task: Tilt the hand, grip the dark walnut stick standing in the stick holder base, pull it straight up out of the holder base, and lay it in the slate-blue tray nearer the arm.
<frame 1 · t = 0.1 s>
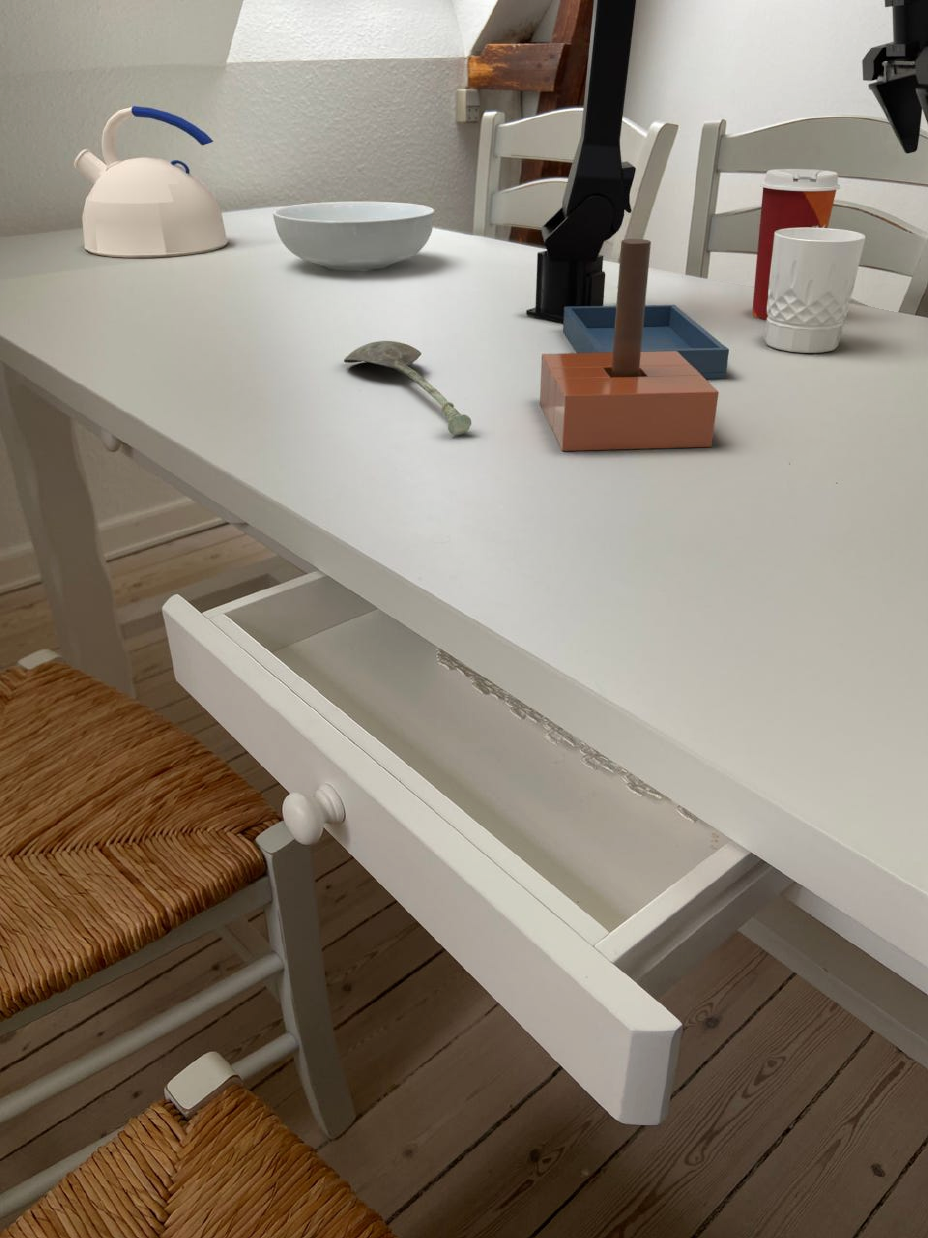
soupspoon: (410, 396, 79), on the table
serving bowl: (357, 266, 128), on the table
tray: (637, 353, 90), on the table
kettle: (157, 247, 141), on the table
paper cup: (778, 317, 103), on the table
stick holder base: (620, 424, 73), on the table
walnut stick: (628, 336, 69), in the stick holder base
white cup: (800, 346, 93), on the table
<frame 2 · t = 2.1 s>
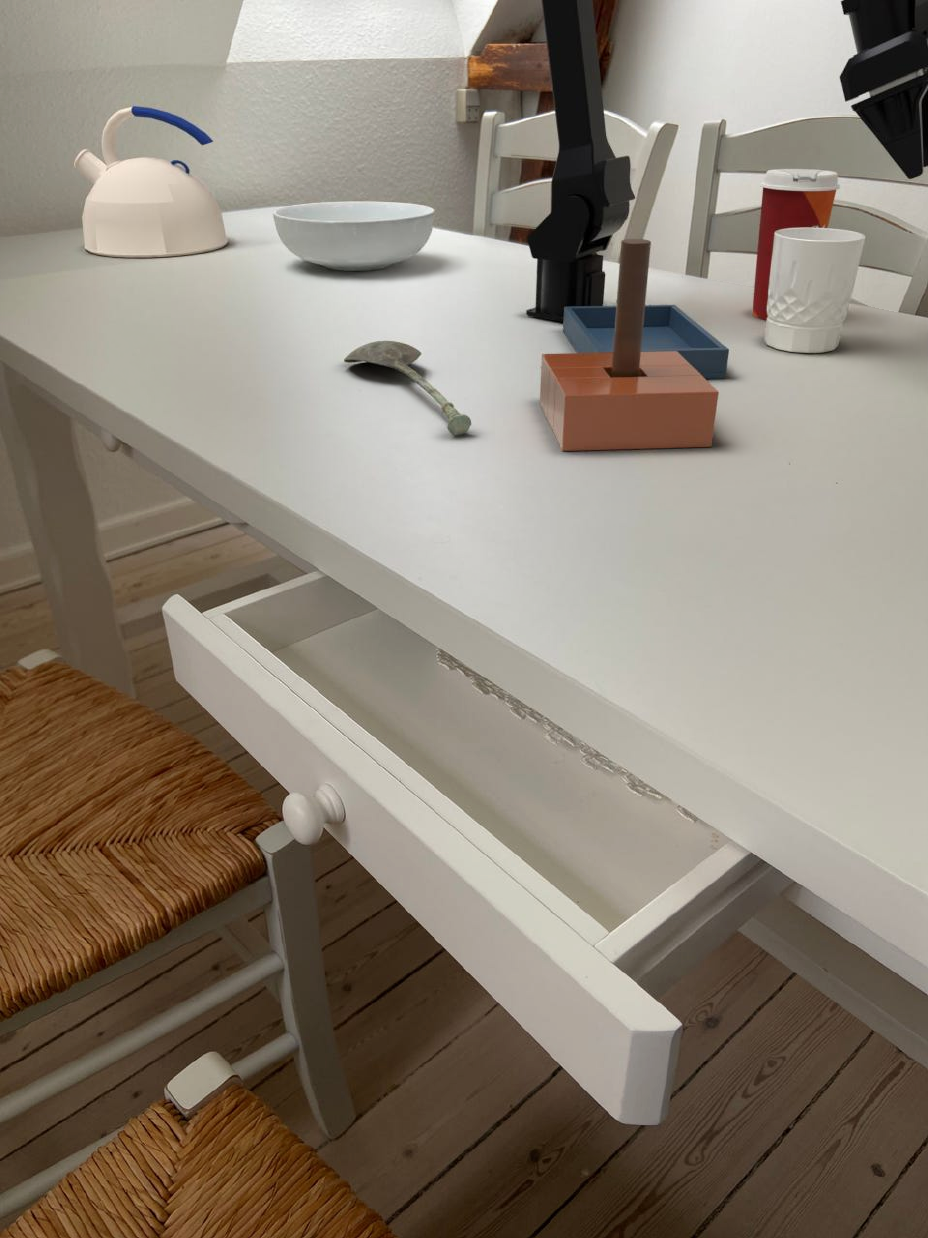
hand: (923, 170, 82), 16 cm above the table, tool tilted 25°, fingers open, 9 cm apart
nothing on the table moved.
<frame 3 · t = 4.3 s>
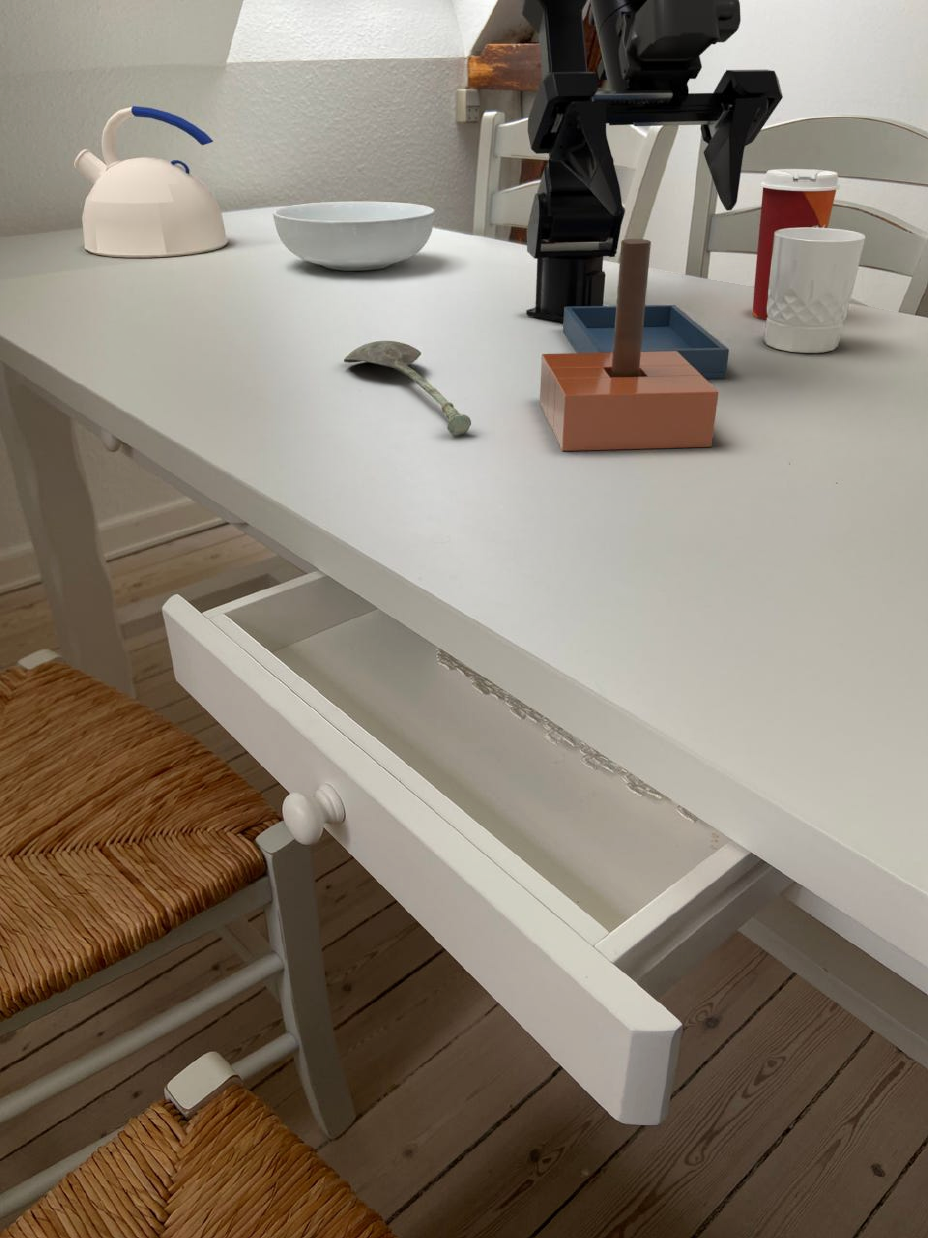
hand: (675, 209, 72), 14 cm above the table, tool tilted 40°, fingers open, 9 cm apart
nothing on the table moved.
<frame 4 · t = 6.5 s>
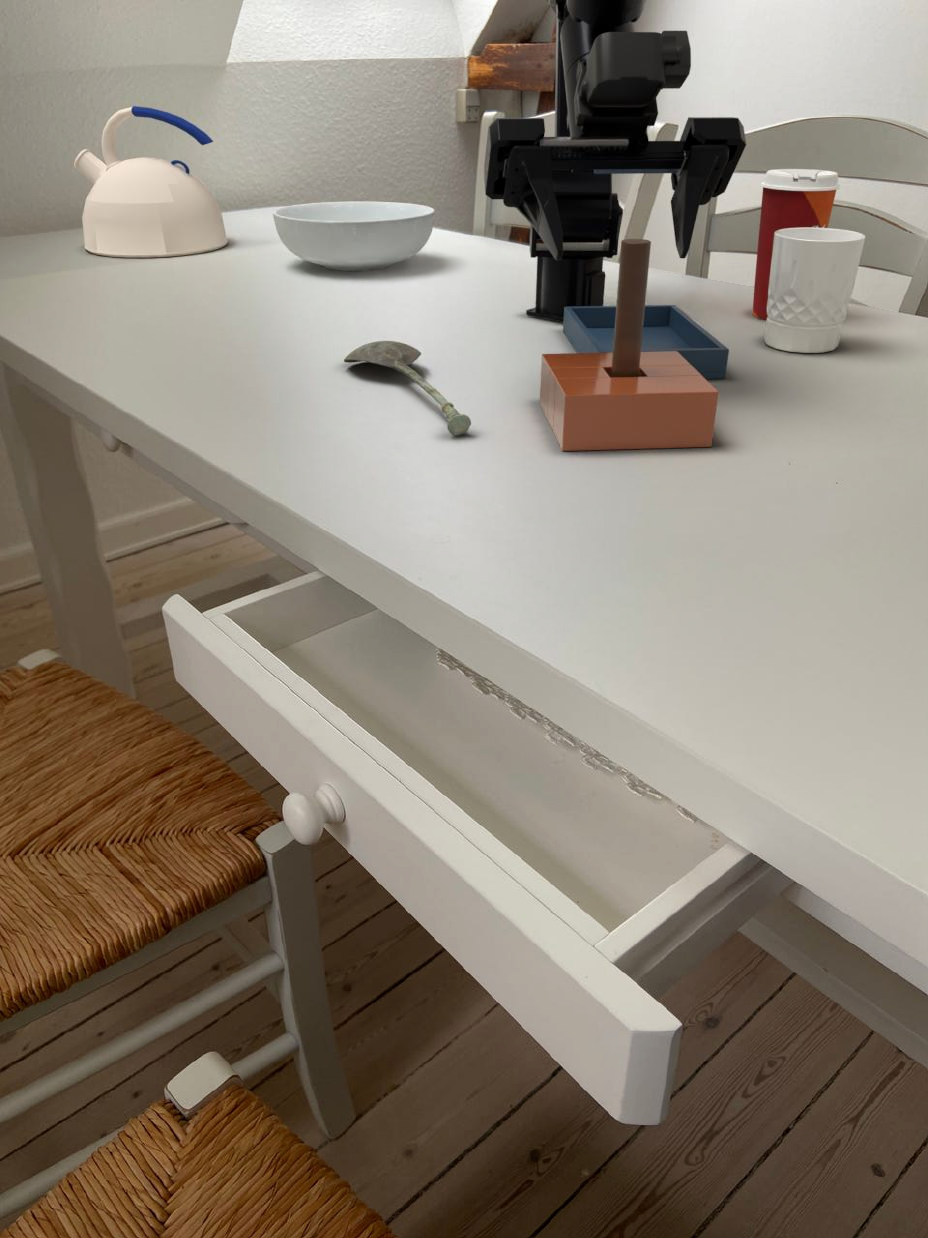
hand: (622, 255, 70), 11 cm above the table, tool tilted 45°, fingers open, 9 cm apart
nothing on the table moved.
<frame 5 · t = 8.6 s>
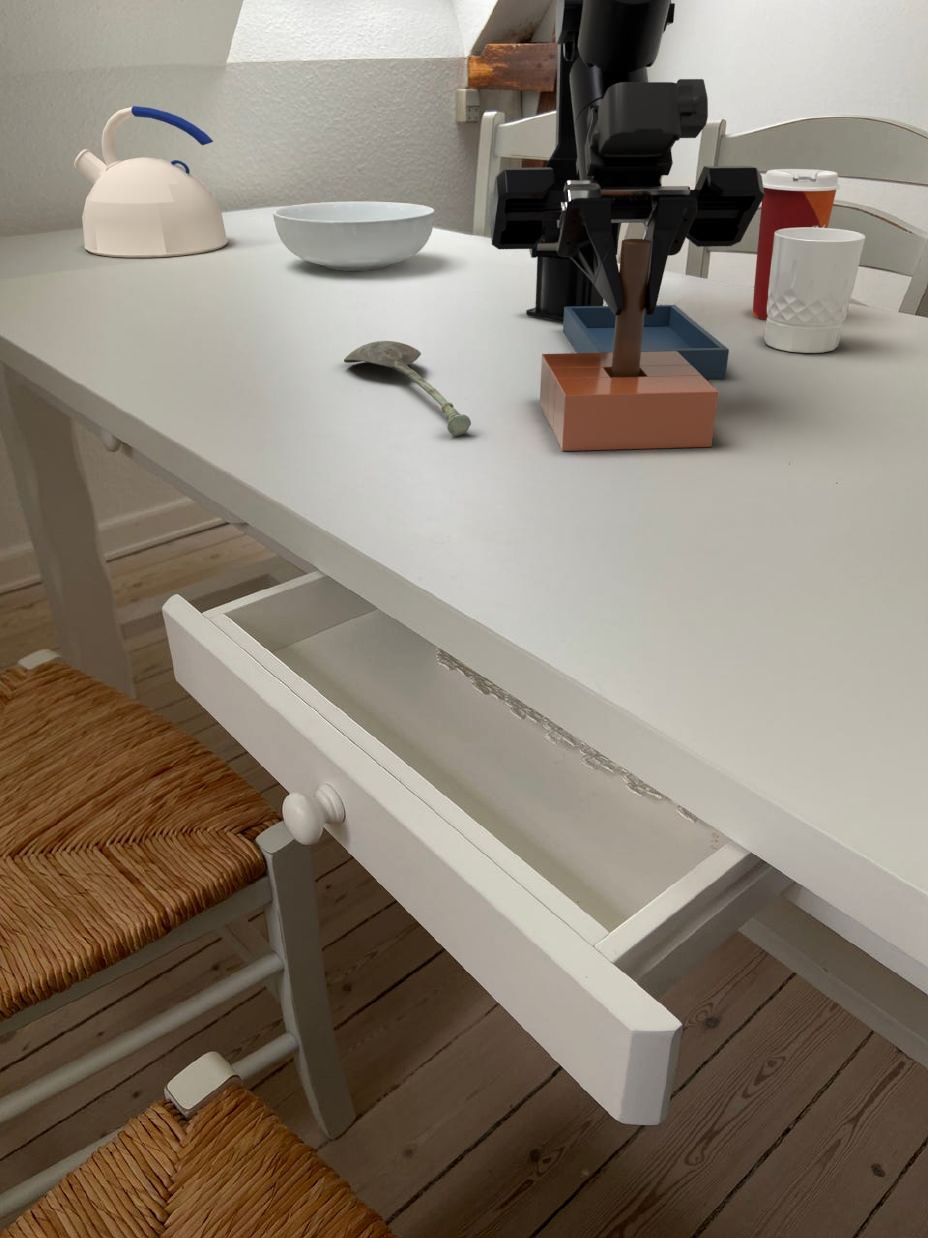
hand: (635, 311, 67), 9 cm above the table, tool tilted 45°, fingers closed on walnut stick, 2 cm apart
walnut stick: (628, 336, 69), in the stick holder base, touching gripper
everything else where it was.
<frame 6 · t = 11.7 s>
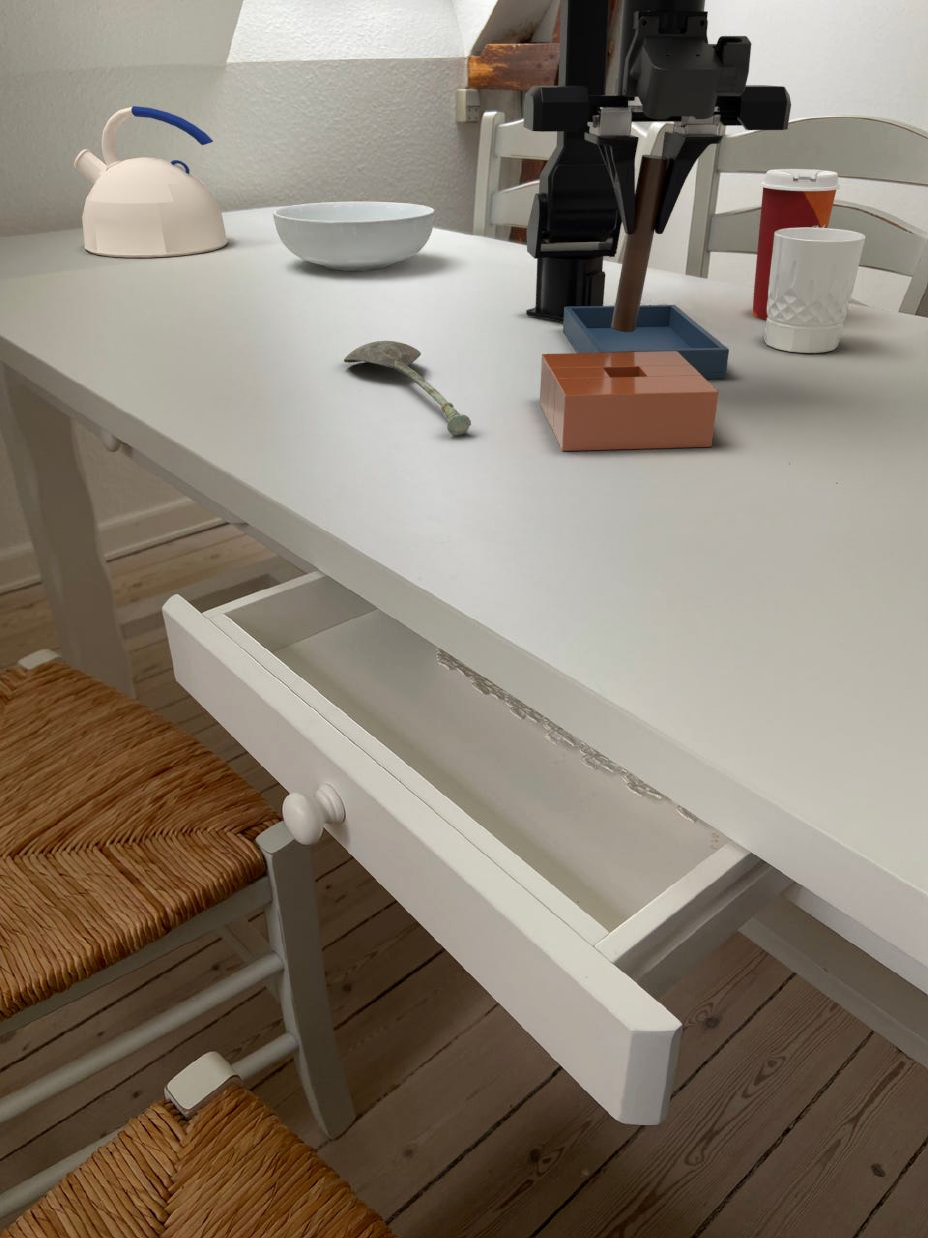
hand: (643, 233, 75), 12 cm above the table, tool pointing down, fingers closed on walnut stick, 2 cm apart
walnut stick: (638, 246, 76), point 11 cm above the table, tilted 6°, touching gripper
everything else where it was.
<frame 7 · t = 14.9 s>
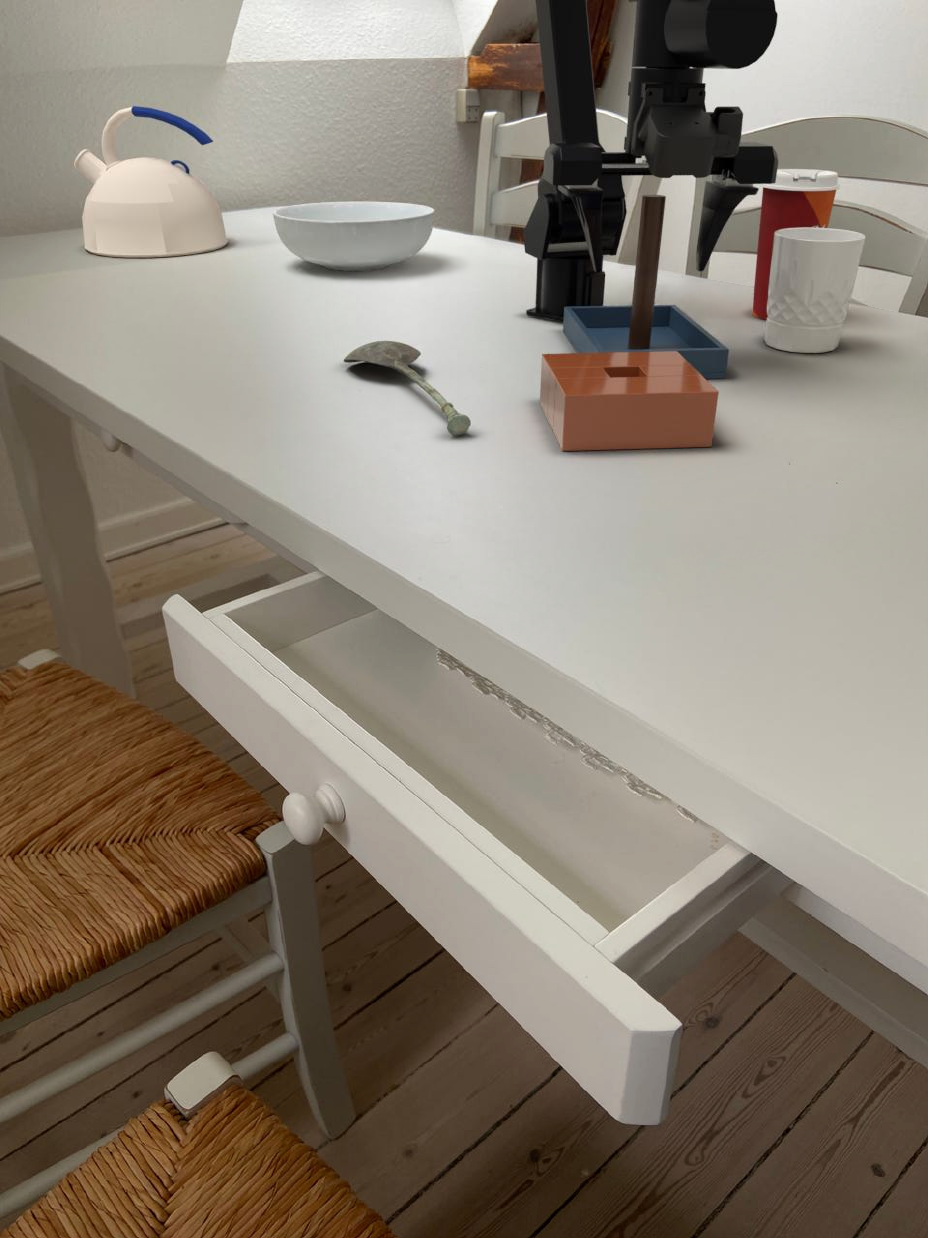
hand: (648, 271, 85), 8 cm above the table, tool pointing down, fingers open, 9 cm apart
walnut stick: (646, 274, 87), in the tray
everything else where it was.
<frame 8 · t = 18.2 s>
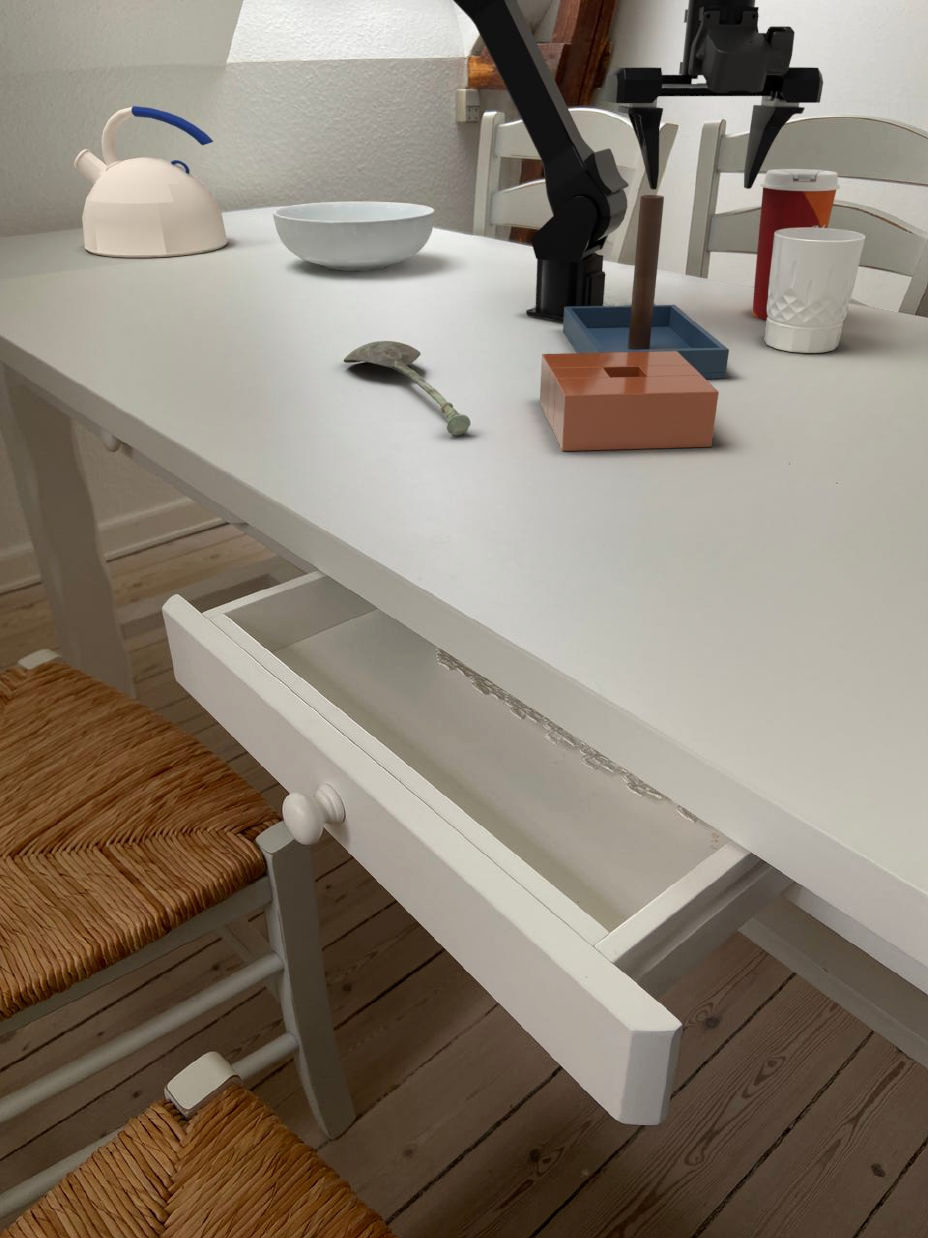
hand: (700, 188, 92), 13 cm above the table, tool pointing down, fingers open, 9 cm apart
nothing on the table moved.
at the end: walnut stick inside the target area in the tray (0.1 cm from its centre), point 7.0 cm above the tray's base; walnut stick moved 20.7 cm from its start; the gripper is holding nothing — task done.
